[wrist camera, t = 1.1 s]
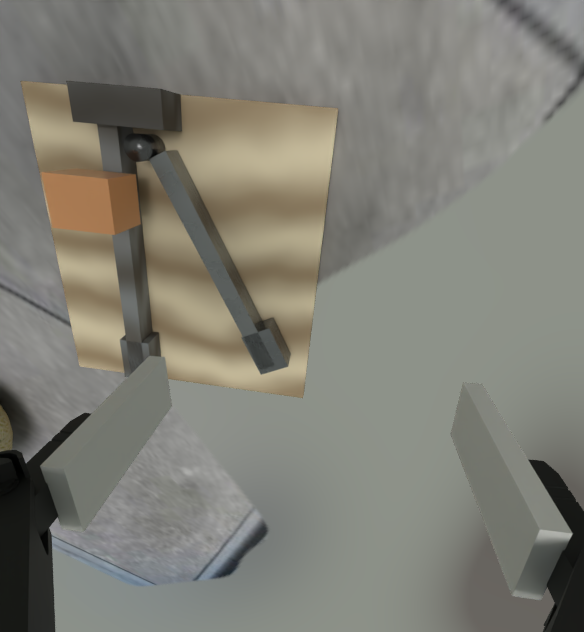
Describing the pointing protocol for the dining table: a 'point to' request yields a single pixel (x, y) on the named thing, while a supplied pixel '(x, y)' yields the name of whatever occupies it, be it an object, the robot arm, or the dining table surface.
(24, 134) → the dining table surface
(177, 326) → the tongs board
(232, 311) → the upper tong arm
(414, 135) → the dining table surface
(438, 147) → the dining table surface
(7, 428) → the cantaloupe
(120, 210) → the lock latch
